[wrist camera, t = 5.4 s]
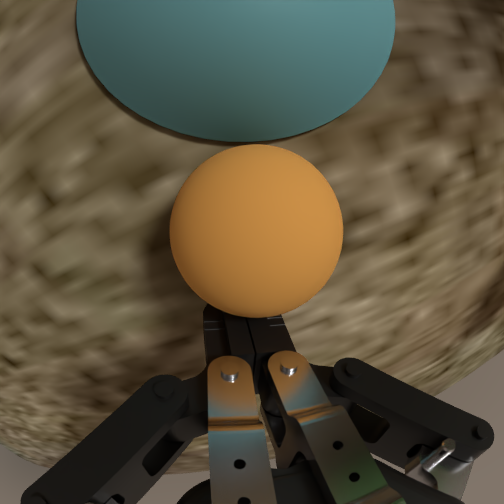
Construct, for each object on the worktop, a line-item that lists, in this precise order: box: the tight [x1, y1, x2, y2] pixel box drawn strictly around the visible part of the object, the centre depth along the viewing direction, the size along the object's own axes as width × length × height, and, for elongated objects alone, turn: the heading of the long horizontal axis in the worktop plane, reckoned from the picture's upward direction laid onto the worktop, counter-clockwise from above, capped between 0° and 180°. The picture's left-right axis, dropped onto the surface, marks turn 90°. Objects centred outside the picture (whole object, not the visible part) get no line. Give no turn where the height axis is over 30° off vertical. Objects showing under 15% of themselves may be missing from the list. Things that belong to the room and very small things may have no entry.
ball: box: [169, 144, 343, 318], centre depth 9 cm, size 6×6×6 cm
